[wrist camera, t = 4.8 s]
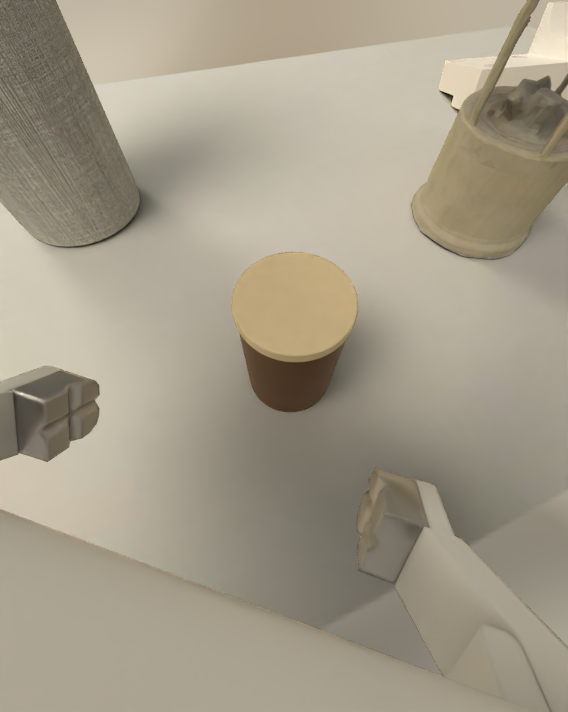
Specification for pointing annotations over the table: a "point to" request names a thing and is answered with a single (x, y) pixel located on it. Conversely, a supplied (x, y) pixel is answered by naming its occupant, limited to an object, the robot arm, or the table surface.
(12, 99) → the vase
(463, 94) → the bracket
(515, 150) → the lamp
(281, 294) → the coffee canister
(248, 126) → the table surface
